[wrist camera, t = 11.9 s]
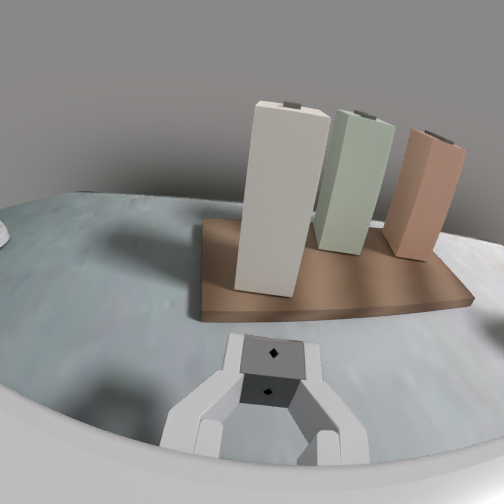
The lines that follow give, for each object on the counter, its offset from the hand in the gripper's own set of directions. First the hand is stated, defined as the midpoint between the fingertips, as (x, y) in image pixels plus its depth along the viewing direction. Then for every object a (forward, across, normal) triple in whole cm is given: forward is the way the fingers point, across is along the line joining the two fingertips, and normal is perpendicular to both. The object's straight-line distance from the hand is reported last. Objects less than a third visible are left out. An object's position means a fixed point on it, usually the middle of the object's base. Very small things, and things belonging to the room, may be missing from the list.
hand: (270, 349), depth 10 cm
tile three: (+20, -15, +5) cm, 25 cm away
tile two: (+19, -7, +5) cm, 21 cm away
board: (+16, -7, +6) cm, 19 cm away
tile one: (+12, 0, +5) cm, 13 cm away
